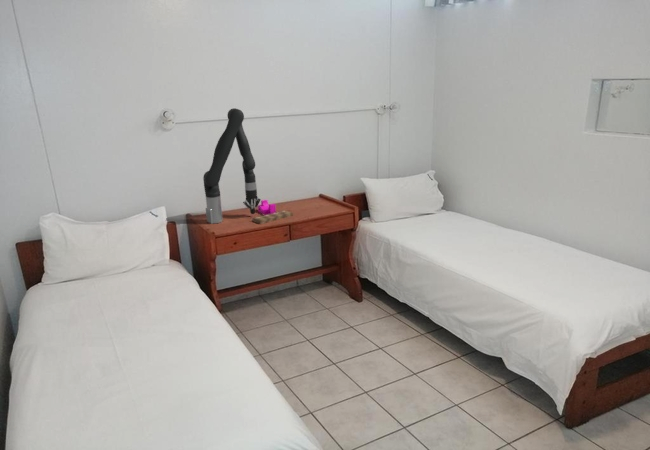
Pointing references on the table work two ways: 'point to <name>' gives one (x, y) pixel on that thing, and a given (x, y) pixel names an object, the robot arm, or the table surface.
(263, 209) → the toy block
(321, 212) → the table surface
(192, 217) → the table surface
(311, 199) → the table surface
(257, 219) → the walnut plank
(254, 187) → the robot arm
